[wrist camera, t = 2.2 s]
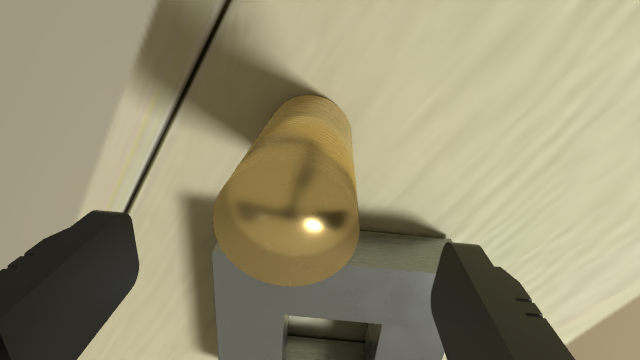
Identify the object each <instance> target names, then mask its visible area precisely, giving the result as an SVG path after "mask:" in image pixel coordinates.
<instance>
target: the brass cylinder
mask: <svg viewBox="0 0 640 360" xmlns="http://www.w3.org/2000/svg"><path fill="white" fill-rule="evenodd" d="M213 228H214V233H215V236H216V239H217V241H218V244H219V246H220V248H221V249H222V251H223V252H224V254H225V255H226V256H227V258H228V259H229V260H230V261H231V262H232V263H233V264H234V265H235V266H236V267H238V268H239V269H240V270H242V271H243V272H245V273H246V274H248V275H249V276H251V277H253V278H255V279H258V280H260V281H263V282H266V283H270V284H273V285H279V286H304V285H310V284H314V283H317V282H320V281H322V280H325V279H327V278H329V277H330V276H332V275H334V274H335V273H337V272H338V271H339V270H340V269H341V268H342V267H344V266H345V265H346V263H347V262H348V261H349V260H350V258H351V257H352V255H353V253H354V251H355V249H356V246H357V243H358V239H359V231H360V226H359V214H358V203H357V192H356V180H355V169H354V158H353V147H352V135H351V128H350V124H349V121H348V119H347V117H346V115H345V114H344V113H343V111H342V110H341V109H340V108H339V107H338V106H337V105H336V104H334V103H333V102H331V101H330V100H328V99H325V98H323V97H319V96H314V95H303V96H298V97H295V98H292V99H290V100H288V101H286V102H285V103H284V104H282V105H281V106H280V107H279V108H278V109H277V110H276V112H275V113H274V115H273V116H272V117H271V119H270V120H269V122H268V123H267V125H266V126H265V128H264V129H263V130H262V132H261V133H260V135H259V136H258V138H257V139H256V141H255V142H254V143H253V145H252V146H251V148H250V149H249V151H248V152H247V154H246V155H245V156H244V158H243V159H242V161H241V162H240V164H239V165H238V167H237V168H236V169H235V171H234V172H233V174H232V175H231V177H230V178H229V180H228V181H227V182H226V184H225V185H224V187H223V188H222V190H221V191H220V193H219V195H218V197H217V199H216V202H215V205H214V210H213Z"/></svg>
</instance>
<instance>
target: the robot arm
mask: <svg viewBox="0 0 640 360" xmlns="http://www.w3.org/2000/svg"><path fill="white" fill-rule="evenodd" d="M138 272H139V260H138V254H137V248H136V242H135V236H134V230H133V224H132V219H131V217H130V216H129V215H128V214H127V213H122V212H110V211H99V210H94V211H91V212H90V213H88V214H87V215H86V216H84V217H83V218H82V219H80V220H79V221H78V222H76V223H75V224H74V225H73V226H71V227H70V228H67V229H65V230H63V231H61V232H59V233H56V234H54V235H52V236H50V237H48V238H45V239H43V240H42V241H41V242H39V243H38V244H36V245H35V246H34V247H32V248H31V249H30V250H28V251H27V252H26V253H25V254H24V256H20V257H19V258H17V259H16V260H15V261H13V262H12V263H10V264H9V265H8V268H7V269H2V270H1V271H0V360H77V359H78V357H79V356H80V355H81V353H82V352H83V351H84V350H85V348H86V347H87V346H88V344H89V343H90V342H91V340H92V339H93V338H94V337H95V335H96V334H97V333H98V331H99V330H100V329H101V328H102V326H103V325H104V324H105V322H106V321H107V320H108V319H109V317H110V316H111V315H112V313H113V312H114V311H115V309H116V308H117V307H118V306H119V304H120V303H121V302H122V300H123V299H124V298H125V297H126V295H127V294H128V293H129V291H130V290H131V289H132V287H133V286H134V284H135V282H136V279H137V276H138ZM431 311H432V316H433V319H434V322H435V325H436V328H437V331H438V334H439V337H440V340H441V342H442V345H443V348H444V351H445V354H446V357H447V360H575V359H574V357H573V356H572V355H571V353H570V352H569V351H568V349H567V348H566V346H565V345H564V344H563V342H562V341H561V339H560V338H559V337H558V335H557V334H556V332H555V331H554V330H553V328H552V327H551V325H550V324H549V323H548V321H547V320H546V319H545V318H543V317H542V315H543V314H542V313H541V312H540V310H539V309H538V307H537V306H536V305H535V303H532V299H531V298H530V296H529V295H528V294H527V292H526V291H525V289H524V288H523V287H522V285H521V284H520V282H518V281H517V280H516V279H515V278H513V277H512V276H511V275H510V274H508V273H507V272H506V271H505V270H503V269H502V268H501V267H494V266H493V264H492V263H491V261H490V260H489V258H488V257H487V255H486V254H485V252H484V251H483V249H482V248H481V247H480V246H479V245H475V244H464V243H452V242H447V243H446V244H445V245H444V247H443V249H442V253H441V256H440V260H439V264H438V268H437V271H436V275H435V279H434V282H433V286H432V290H431Z"/></svg>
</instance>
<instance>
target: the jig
mask: <svg viewBox="0 0 640 360" xmlns="http://www.w3.org/2000/svg"><path fill="white" fill-rule="evenodd" d="M447 242H452V241H451V239H444V238H433V237H422V236H412V235H401V234H391V233H380V232H370V231H359V239H358V243H357V246H356V249H355V251H354V253H353V255H352V257H351V258H350V260H349V261H348V262H347V263H346V265H345V266H344V267H342V268H341V269H340V270H339V271H338V272H337V273H335V274H334V275H332V276H330V277H329V278H327V279H325V280H322V281H320V282H317V283H314V284H310V285H304V286H279V285H273V284H270V283H266V282H263V281H260V280H258V279H255V278H253V277H251V276H249V275H248V274H246V273H245V272H243V271H242V270H240V269H239V268H238V267H236V266H235V265H234V264H233V263H232V262H231V261H230V260H229V259H228V258H227V256H226V255H225V254H224V252H223V251H222V249H221V248H220V246H219V244H218V241H217V243H216V245H215V247H214V249H213V251H212V265H213V280H214V296H215V312H216V328H217V343H218V359H219V360H442V358H443V355H444V352H445V351H444V348H443V345H442V342H441V340H440V337H439V334H438V331H437V328H436V325H435V322H434V319H433V316H432V311H431V290H432V286H433V282H434V279H435V275H436V271H437V268H438V264H439V260H440V256H441V253H442V249H443V247H444V245H445V244H446V243H447ZM289 315H291V316H301V317H311V318H322V319H332V320H343V321H353V322H363V323H369V324H368V329H367V334H366V339H365V343H358V342H348V341H337V340H327V339H317V338H306V337H296V336H288V320H289Z"/></svg>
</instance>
